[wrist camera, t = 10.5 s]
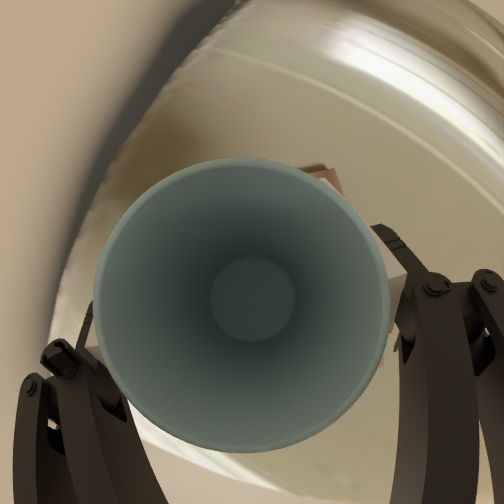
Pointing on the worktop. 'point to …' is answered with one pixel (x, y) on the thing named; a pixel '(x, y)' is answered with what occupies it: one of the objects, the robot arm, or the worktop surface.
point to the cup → (241, 305)
